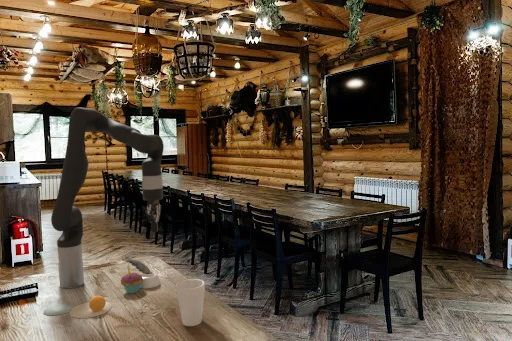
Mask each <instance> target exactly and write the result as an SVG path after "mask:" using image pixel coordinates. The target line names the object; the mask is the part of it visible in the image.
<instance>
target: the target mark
mask: <svg viewBox="0 0 512 341" xmlns="http://www.w3.org/2000/svg"><path fill="white" fill-rule="evenodd" d="M89 302H90V301H88V302H84V303H81V304H79V305H77V306H74V308H73V309H72V310H71V311H69V315H70V316H71V317H73V318H76V319H87V318H88V319H89V318H95V317H98V316H101V315H104V314H105V313H108V312H109V311H110V310H111V309H112V304H111V303H110V302H109V301H105V302H106V304H105V307H104V308H103V309H102V310H101V311H98V312H95V311H93V310H91V309H90V307H89Z"/></svg>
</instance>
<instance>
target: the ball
mask: <svg viewBox="0 0 512 341" xmlns="http://www.w3.org/2000/svg"><path fill="white" fill-rule="evenodd" d="M88 302H89V307H90V309H91V310H93V311H95V312H98V311H101V310H102V309H103V308H104V307H105V304H106V302H107V301H106V298H104V296H102V295H95V296H93V297H91V299H90V300H89V301H88Z"/></svg>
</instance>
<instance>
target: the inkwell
mask: <svg viewBox="0 0 512 341" xmlns="http://www.w3.org/2000/svg"><path fill="white" fill-rule="evenodd" d="M124 262H127V263H128V264H131V265H132V266H133V267H135V268H136V269H137V270H138V272H141V273H142V274H140V275H141V276H142V278H143V282H141V284H140V287H139V289H145V290H147V289H153V288H156V287H158V286H160V284H161V281H160V278H159V275H158V273H157V272H154V271H152V270H150V268H149V266H147V265H146V264H145V263H143V262H142V261H140V260H139V259H136V258H127V259H125V260H124Z"/></svg>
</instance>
